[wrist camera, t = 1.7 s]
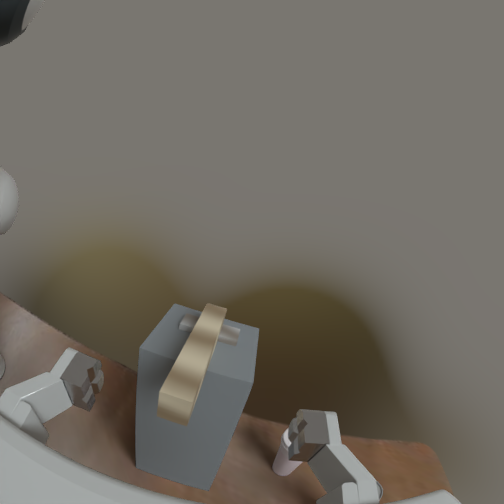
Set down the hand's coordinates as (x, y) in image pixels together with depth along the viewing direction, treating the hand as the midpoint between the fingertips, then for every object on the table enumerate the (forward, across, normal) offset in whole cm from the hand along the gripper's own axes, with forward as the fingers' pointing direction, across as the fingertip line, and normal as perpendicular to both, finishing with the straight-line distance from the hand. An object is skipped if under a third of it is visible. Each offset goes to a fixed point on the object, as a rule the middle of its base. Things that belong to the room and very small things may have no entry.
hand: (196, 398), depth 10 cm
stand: (+13, +2, +40) cm, 42 cm away
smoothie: (+14, -16, +40) cm, 46 cm away
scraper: (+13, +1, +13) cm, 18 cm away
